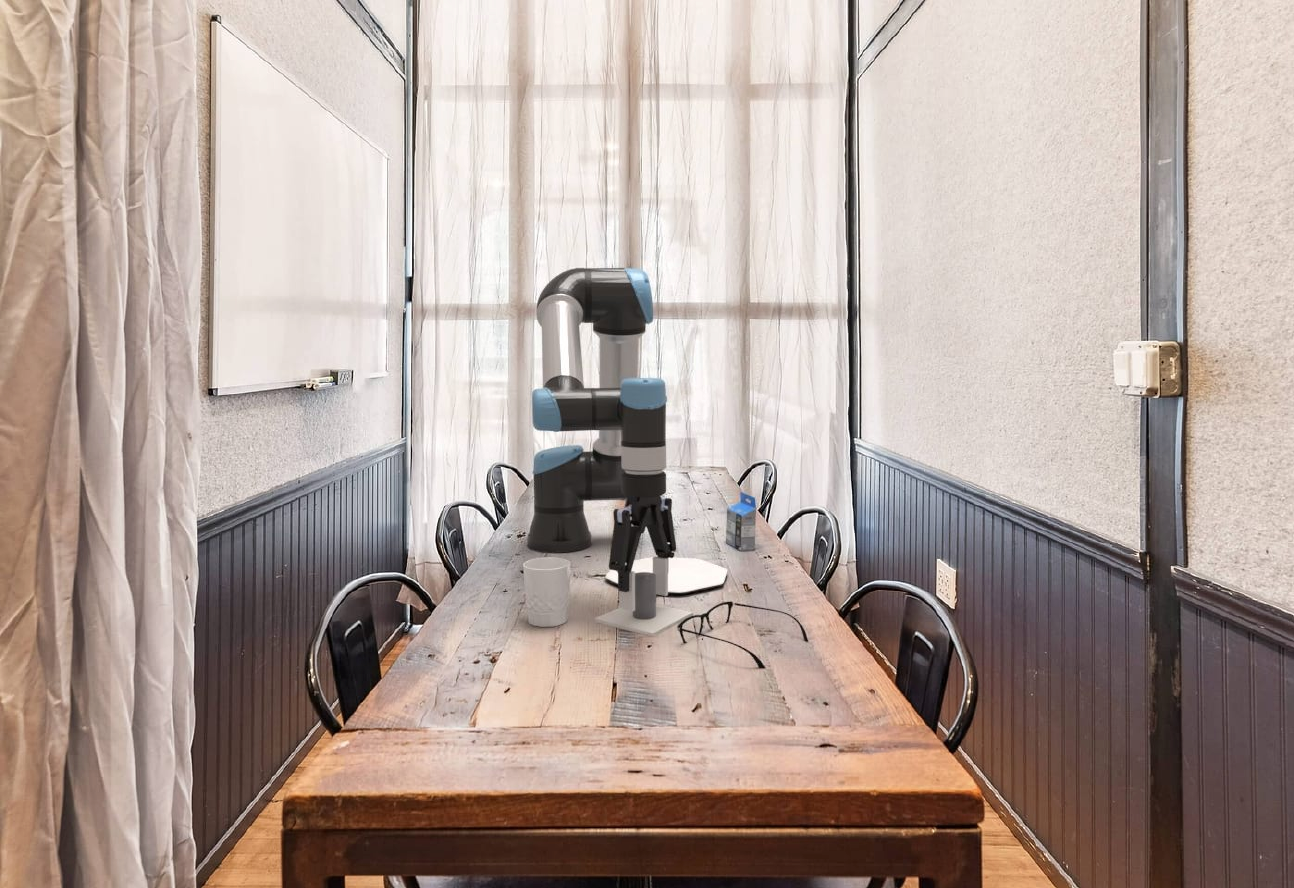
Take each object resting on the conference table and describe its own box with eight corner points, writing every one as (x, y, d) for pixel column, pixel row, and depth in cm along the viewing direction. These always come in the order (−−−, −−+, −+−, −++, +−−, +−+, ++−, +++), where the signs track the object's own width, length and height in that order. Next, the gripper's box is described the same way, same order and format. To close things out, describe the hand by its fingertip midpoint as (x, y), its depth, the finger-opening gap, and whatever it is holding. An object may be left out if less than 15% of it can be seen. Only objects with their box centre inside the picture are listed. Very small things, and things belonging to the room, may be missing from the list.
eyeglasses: (730, 620, 130) (730, 597, 130) (814, 641, 120) (815, 617, 120) (671, 648, 118) (671, 623, 117) (760, 675, 108) (760, 648, 107)
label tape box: (725, 542, 182) (725, 492, 181) (740, 541, 183) (741, 491, 182) (740, 551, 174) (740, 498, 172) (756, 550, 175) (757, 497, 174)
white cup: (563, 630, 125) (561, 570, 123) (517, 627, 126) (516, 568, 125) (577, 614, 132) (576, 558, 131) (533, 611, 134) (532, 556, 133)
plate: (719, 602, 140) (719, 594, 139) (595, 594, 144) (595, 587, 144) (731, 566, 163) (731, 560, 162) (623, 561, 167) (623, 554, 167)
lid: (636, 605, 138) (636, 562, 137) (692, 618, 131) (693, 572, 130) (594, 624, 128) (594, 578, 128) (653, 639, 122) (652, 590, 121)
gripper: (661, 461, 138) (661, 582, 140) (584, 477, 120) (586, 615, 123) (696, 464, 134) (696, 589, 136) (622, 481, 116) (623, 624, 119)
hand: (644, 601), depth 129 cm, fingers open, 9 cm apart
